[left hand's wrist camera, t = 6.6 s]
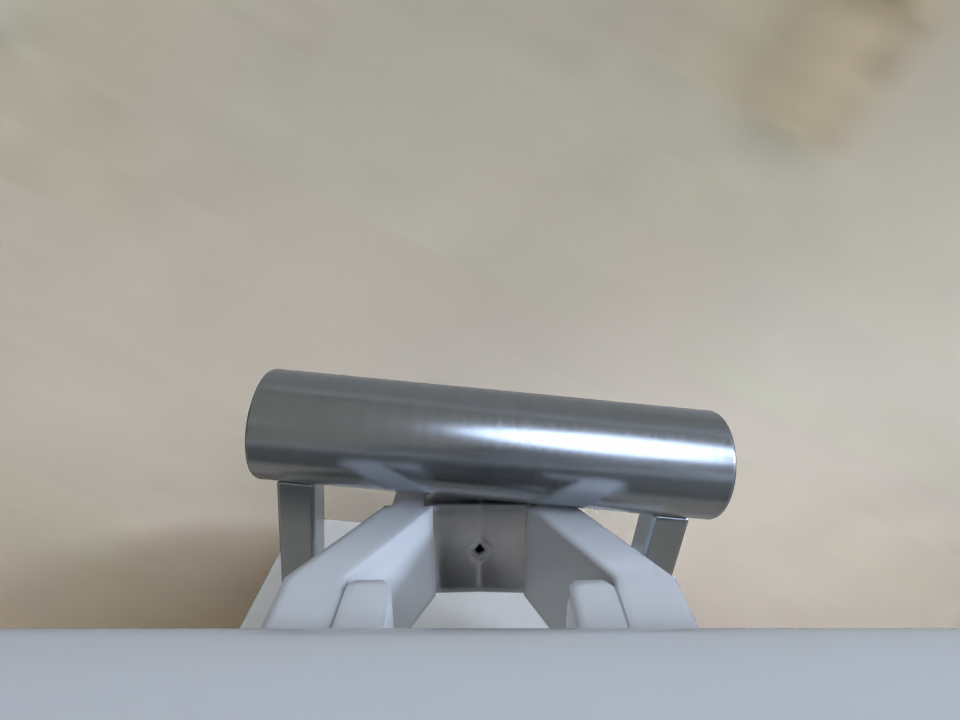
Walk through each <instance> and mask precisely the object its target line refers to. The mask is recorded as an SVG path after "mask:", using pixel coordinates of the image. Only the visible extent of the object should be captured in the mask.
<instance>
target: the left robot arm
mask: <svg viewBox="0 0 960 720" xmlns="http://www.w3.org/2000/svg"><path fill="white" fill-rule="evenodd" d="M451 592H508V593H524V596H525V597H526V599H527V600H528V601H529V602H530V604H531V605H532V606H533V608H534V609H535V610H536V612H537V613H538V614H539V615H540V617H541V618H542V619H543V621H544V622H545V623H546V624H547V626H548V627H549V628H411V627H412V626H413V624H414V623H415V622H416V620H417V619H418V618H419V617H420V615H421V614H422V613H423V611H424V610H425V609H426V608H427V606H428V605H429V604H430V603H431V601H432V600H433V599H434V597H435V596H436V593H451ZM0 720H960V628H699V627H698V625H697V622H696V620H695V618H694V616H693V614H692V612H691V610H690V608H689V606H688V604H687V601H686V599H685V597H684V595H683V593H682V591H681V589H680V587H679V585H678V583H677V580H676V578H674V577H673V576H672V575H670V574H669V573H667V572H666V571H665V570H663V569H662V568H660V567H659V566H658V565H656V564H655V563H653V562H652V561H651V560H649V559H648V558H646V557H645V556H644V555H642V554H641V553H639V552H638V551H637V550H635V549H634V548H632V547H631V546H630V545H628V544H627V543H625V542H624V541H623V540H621V539H620V538H619V537H617V536H616V535H614V534H613V533H612V532H610V531H609V530H607V529H606V528H605V527H603V526H602V525H600V524H599V523H598V522H596V521H595V520H593V519H592V518H591V517H589V516H588V515H586V514H585V513H584V512H582V511H581V510H579V509H578V508H575V507H564V506H553V505H542V504H531V503H520V502H509V501H498V500H487V499H476V498H465V497H453V496H442V495H431V494H420V493H409V492H398V491H396V494H395V498H394V502H393V506H384V507H383V508H382V509H380V510H379V511H377V512H376V513H375V514H373V515H372V516H370V517H369V518H367V519H366V520H365V521H363V522H362V523H360V524H359V525H358V526H356V527H355V528H353V529H352V530H351V531H349V532H348V533H346V534H345V535H344V536H342V537H341V538H339V539H338V540H337V541H335V542H334V543H332V544H331V545H330V546H328V547H327V548H325V549H324V550H323V551H321V552H320V553H318V554H317V555H316V556H314V557H313V558H311V559H310V560H309V561H307V562H306V563H304V564H303V565H302V566H300V567H299V568H297V569H296V570H295V571H293V572H292V573H290V574H289V575H288V576H286V577H285V578H284V580H283V582H282V584H281V586H280V588H279V590H278V592H277V594H276V597H275V599H274V601H273V603H272V605H271V607H270V609H269V611H268V613H267V615H266V617H265V619H264V621H263V623H262V625H261V627H260V628H0Z"/></svg>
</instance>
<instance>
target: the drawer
mask: <svg viewBox="0 0 960 720" xmlns="http://www.w3.org/2000/svg"><path fill="white" fill-rule="evenodd" d="M245 453H246V460H247V465H248V468H249V470H250V472H251V473H252V475H253V476H255V477H256V478H259V479H266V480H277V481H278V482H277V490H278V512H279V533H280V552H279V554H278V556H277V558H276V560H275V562H274V564H273V566H272V568H271V569H270V571H269V573H268V575H267V577H266V579H265V581H264V583H263V585H262V586H261V588H260V590H259V592H258V594H257V596H256V598H255V600H254V602H253V603H252V605H251V607H250V609H249V611H248V613H247V615H246V617H245V619H244V621H243V622H242V624H241V626H240V628H260V627H261V625H262V623H263V621H264V619H265V617H266V615H267V613H268V611H269V609H270V607H271V605H272V603H273V601H274V599H275V597H276V594H277V592H278V590H279V588H280V586H281V584H282V582H283V580H284V578H285V577H286V576H288V575H289V574H290V573H292V572H293V571H295V570H296V569H297V568H299V567H300V566H302V565H303V564H304V563H306V562H307V561H309V560H310V559H311V558H313V557H314V556H316V555H317V554H318V553H320V552H321V551H323V550H324V549H325V548H327V547H328V546H330V545H331V544H332V543H334V542H335V541H337V540H338V539H339V538H341V537H342V536H344V535H345V534H346V533H348V532H349V531H351V530H352V529H353V528H355V527H356V526H358V525H359V524H360V523H362V522H353V521H341V520H330V519H324V485H332V486H343V487H354V488H365V489H376V490H387V491H398V492H409V493H420V494H431V495H442V496H453V497H465V498H476V499H487V500H498V501H509V502H520V503H531V504H542V505H553V506H564V507H575V508H586V509H597V510H608V511H619V512H630V513H640V514H639V518H638V522H637V526H636V530H635V534H634V537H633V541H632V545H631V547H632V548H634V549H635V550H637V551H638V552H639V553H641V554H642V555H644V556H645V557H646V558H648V559H649V560H651V561H652V562H653V563H655V564H656V565H658V566H659V567H660V568H662V569H663V570H665V571H666V572H667V573H669V574H670V575H672V573H673V570H674V566H675V563H676V560H677V556H678V553H679V550H680V546H681V543H682V540H683V536H684V533H685V530H686V526H687V523H688V518H697V519H713V518H716V517H718V516H719V515H721V514H722V513H723V512H724V510H725V509H726V507H727V506H728V504H729V502H730V499H731V496H732V493H733V490H734V485H735V478H736V452H735V446H734V441H733V437H732V434H731V431H730V429H729V427H728V425H727V423H726V422H725V420H724V419H723V418H722V417H721V416H720V415H719V414H717V413H715V412H713V411H708V410H698V409H687V408H677V407H667V406H656V405H646V404H636V403H625V402H615V401H605V400H594V399H584V398H574V397H563V396H553V395H542V394H532V393H522V392H511V391H501V390H491V389H480V388H470V387H460V386H449V385H439V384H429V383H418V382H408V381H398V380H387V379H377V378H366V377H356V376H346V375H335V374H325V373H315V372H304V371H294V370H284V369H274V370H271V371H269V372H268V373H266V374H265V375H264V377H263V378H262V379H261V381H260V383H259V384H258V386H257V388H256V391H255V393H254V396H253V398H252V401H251V405H250V409H249V413H248V418H247V423H246V432H245ZM411 628H549V627H548V626H547V624H546V623H545V622H544V621H543V619H542V618H541V617H540V615H539V614H538V613H537V612H536V610H535V609H534V608H533V606H532V605H531V604H530V602H529V601H528V600H527V599H526V597H525V596H524V593H508V592H451V593H436V596H435V597H434V599H433V600H432V601H431V603H430V604H429V605H428V606H427V608H426V609H425V610H424V611H423V613H422V614H421V615H420V617H419V618H418V619H417V620H416V622H415V623H414V624H413V626H412V627H411Z"/></svg>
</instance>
